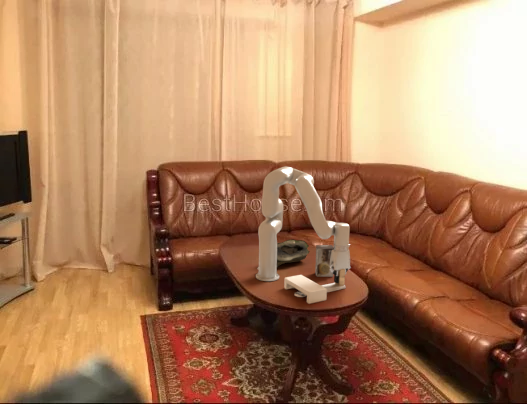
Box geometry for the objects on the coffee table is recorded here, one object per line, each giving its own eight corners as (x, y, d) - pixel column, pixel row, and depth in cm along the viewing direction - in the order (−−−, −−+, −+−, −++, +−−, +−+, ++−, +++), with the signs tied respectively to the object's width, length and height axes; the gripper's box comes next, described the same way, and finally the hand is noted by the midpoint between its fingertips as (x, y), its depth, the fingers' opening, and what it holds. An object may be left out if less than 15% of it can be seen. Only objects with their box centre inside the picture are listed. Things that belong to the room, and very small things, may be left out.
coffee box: (331, 272, 266) (332, 244, 263) (333, 276, 260) (334, 248, 257) (314, 272, 266) (316, 244, 263) (316, 276, 260) (317, 248, 257)
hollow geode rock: (306, 267, 290) (298, 245, 297) (315, 257, 280) (307, 235, 287) (265, 272, 276) (258, 249, 283) (274, 262, 267) (266, 238, 274)
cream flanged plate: (284, 288, 243) (284, 277, 241) (300, 284, 247) (301, 274, 246) (309, 303, 224) (309, 292, 223) (326, 299, 229) (326, 289, 228)
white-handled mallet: (309, 290, 240) (310, 271, 238) (338, 284, 249) (339, 266, 247) (316, 294, 235) (317, 275, 233) (345, 288, 244) (346, 269, 242)
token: (291, 294, 236) (291, 292, 235) (302, 292, 238) (302, 290, 238) (298, 298, 230) (298, 297, 230) (309, 296, 233) (309, 294, 233)
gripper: (348, 243, 249) (347, 277, 253) (323, 247, 241) (321, 282, 245) (358, 247, 243) (356, 281, 246) (332, 251, 235) (331, 287, 238)
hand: (339, 281), depth 245 cm, fingers closed on white-handled mallet, 3 cm apart
